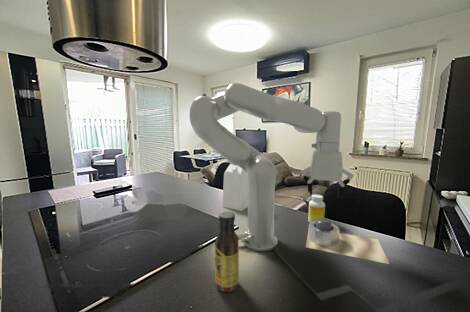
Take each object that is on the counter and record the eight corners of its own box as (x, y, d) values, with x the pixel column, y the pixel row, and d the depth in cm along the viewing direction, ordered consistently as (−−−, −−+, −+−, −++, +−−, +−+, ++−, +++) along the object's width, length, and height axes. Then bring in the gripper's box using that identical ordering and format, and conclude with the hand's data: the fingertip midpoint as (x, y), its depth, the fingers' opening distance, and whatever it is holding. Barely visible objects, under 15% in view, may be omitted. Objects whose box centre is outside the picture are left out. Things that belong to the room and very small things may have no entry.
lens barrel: (321, 249, 71) (322, 234, 71) (303, 235, 80) (303, 222, 80) (344, 243, 74) (345, 230, 74) (324, 231, 84) (324, 219, 83)
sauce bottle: (215, 277, 59) (214, 209, 57) (237, 276, 59) (237, 208, 57) (215, 295, 52) (213, 219, 50) (240, 293, 53) (240, 218, 51)
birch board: (305, 250, 72) (305, 247, 72) (308, 230, 87) (308, 227, 87) (389, 267, 63) (389, 264, 63) (377, 242, 78) (377, 239, 77)
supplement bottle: (325, 228, 89) (327, 198, 88) (309, 226, 90) (310, 197, 89) (322, 221, 96) (323, 194, 94) (307, 220, 97) (308, 193, 96)
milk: (251, 204, 119) (251, 158, 116) (241, 211, 109) (241, 161, 106) (233, 201, 125) (233, 157, 122) (222, 206, 115) (221, 159, 112)
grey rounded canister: (322, 241, 74) (323, 225, 73) (312, 234, 79) (313, 219, 78) (334, 239, 76) (334, 223, 75) (323, 232, 81) (324, 217, 80)
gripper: (300, 147, 74) (298, 195, 75) (357, 149, 67) (353, 201, 69) (302, 146, 80) (300, 190, 82) (354, 147, 74) (350, 195, 76)
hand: (324, 195), depth 76 cm, fingers open, 9 cm apart
